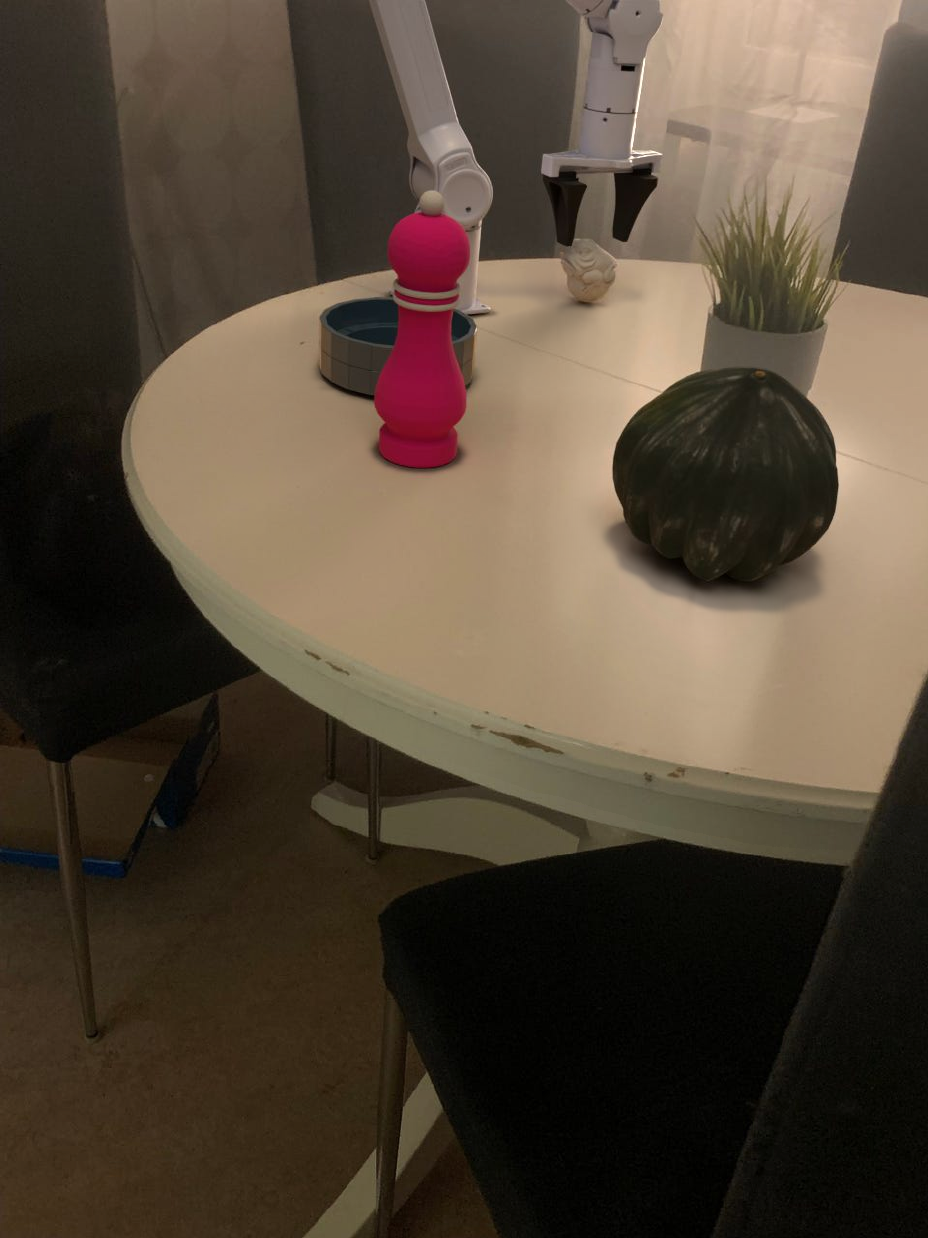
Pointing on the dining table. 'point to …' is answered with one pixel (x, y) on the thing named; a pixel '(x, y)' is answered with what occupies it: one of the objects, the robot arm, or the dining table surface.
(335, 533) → the dining table surface
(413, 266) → the pepper mill
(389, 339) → the bowl
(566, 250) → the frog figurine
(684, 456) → the squash
